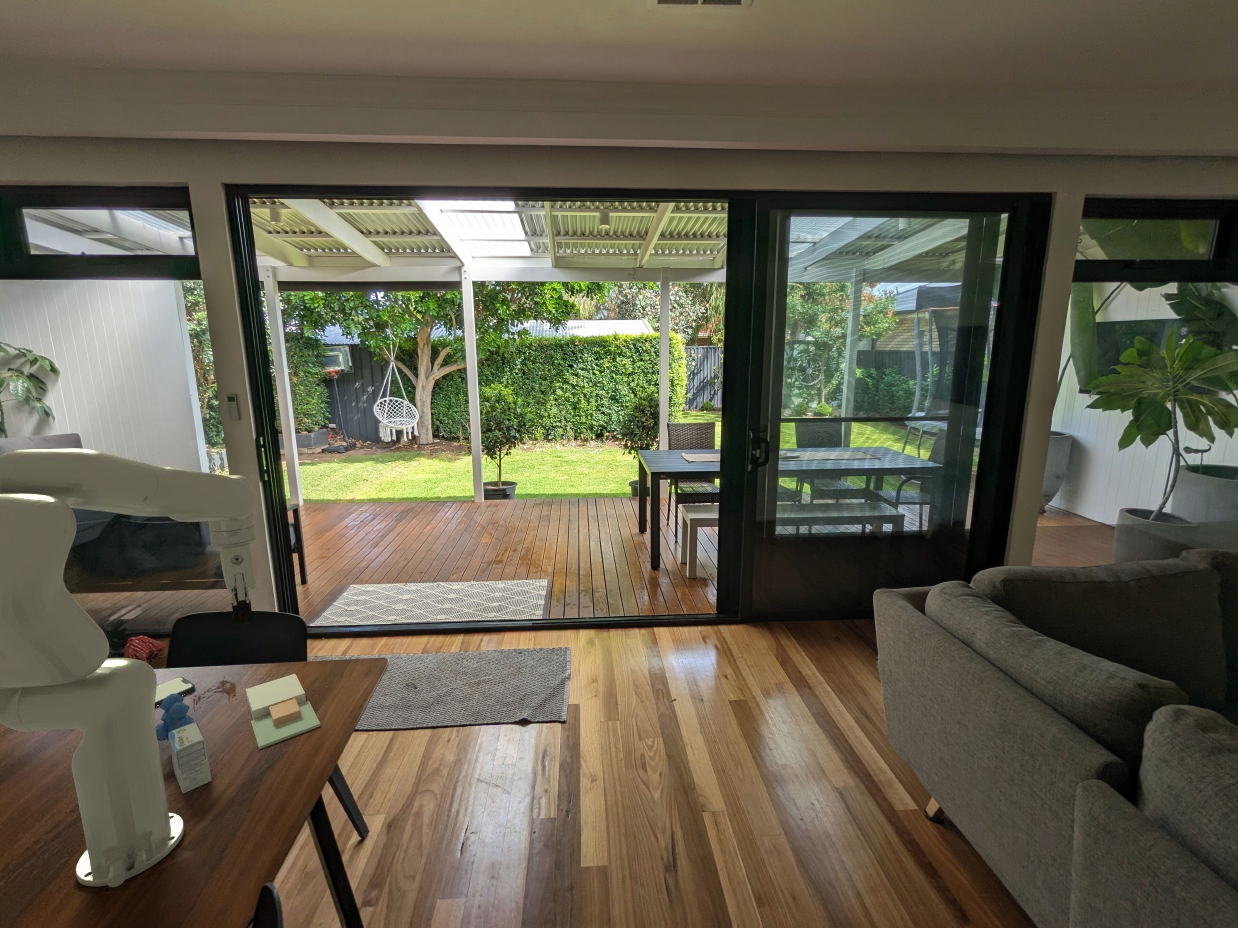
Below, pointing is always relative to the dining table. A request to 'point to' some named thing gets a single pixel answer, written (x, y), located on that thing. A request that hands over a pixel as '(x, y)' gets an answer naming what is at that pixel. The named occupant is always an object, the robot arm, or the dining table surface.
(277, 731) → the mat
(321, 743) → the dining table surface
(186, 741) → the medicine box
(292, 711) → the tile
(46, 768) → the dining table surface
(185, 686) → the smartphone
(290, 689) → the plate
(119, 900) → the dining table surface
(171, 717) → the grapes
